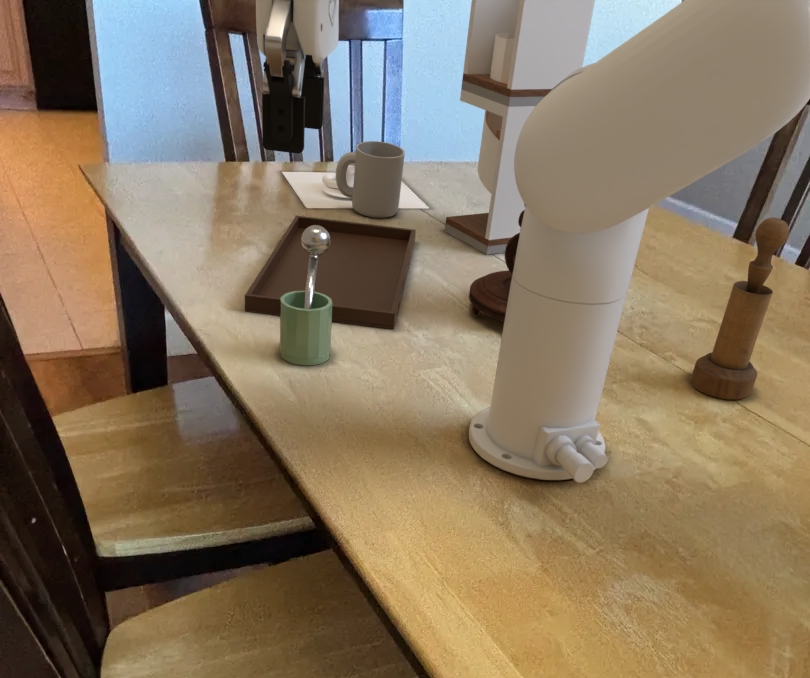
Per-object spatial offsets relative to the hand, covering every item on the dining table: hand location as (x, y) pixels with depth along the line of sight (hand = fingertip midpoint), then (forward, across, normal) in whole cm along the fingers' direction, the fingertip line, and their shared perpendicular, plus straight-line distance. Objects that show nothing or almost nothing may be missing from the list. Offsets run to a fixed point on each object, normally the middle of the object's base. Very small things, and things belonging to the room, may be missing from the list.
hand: (294, 137), depth 72 cm
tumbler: (+23, +8, 0) cm, 24 cm away
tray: (+23, +33, 0) cm, 40 cm away
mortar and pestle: (+23, +13, -45) cm, 52 cm away
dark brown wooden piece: (+23, +26, -24) cm, 43 cm away
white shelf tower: (+23, +55, -20) cm, 63 cm away
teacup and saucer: (+23, +72, +4) cm, 76 cm away
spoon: (+22, +10, 0) cm, 24 cm away
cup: (+23, +61, 0) cm, 65 cm away
